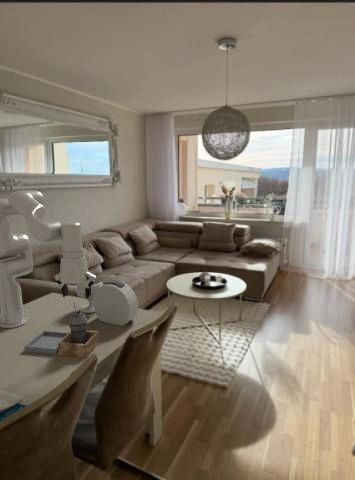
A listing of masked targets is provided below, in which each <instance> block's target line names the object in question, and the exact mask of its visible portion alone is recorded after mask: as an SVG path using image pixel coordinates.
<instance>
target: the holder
mask: <svg viewBox="0 0 355 480" xmlns="http://www.w3.org/2000/svg"><path fill="white" fill-rule="evenodd" d="M68 332H69V333H68V334H67V335H66V336H65V337H64V338H63V339H62V340H61V341H59V342H58V355H59V356H68V357H80V358H88V357H90V355H91V353H92V352H93V351H95V349H96V347H97V346H98V345H99V344H100V343H101V342H100V331H98V330H97V331H96V330H88V329H86V344H78V343H73V341H72V335H71V330H70V331H68Z"/></svg>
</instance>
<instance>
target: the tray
mask: <svg viewBox="0 0 355 480" xmlns="http://www.w3.org/2000/svg"><path fill="white" fill-rule="evenodd" d="M69 332H70V331H68V332H67V331H55V330H43V331H41V332H40V333H38V334H37V335H36V336H35V337H33V338H32V339H31V340H30V341H29V342H27V343H26V344H25V345H24V346H23V348H24V352H26V353H39V354H47V355H58V354H59V352H58V342H59V341H61V340H62V339H63V338H64V337H65V336H66V335H67V334H68V333H69Z"/></svg>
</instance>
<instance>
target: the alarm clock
mask: <svg viewBox="0 0 355 480" xmlns="http://www.w3.org/2000/svg"><path fill="white" fill-rule="evenodd" d="M93 306H94V310H95V312H94V313H95V315H96V316H97V319H99V320H100V321H101V322H103V321H104V323H108V322H109V324H114V325H118V326H123V327H124V326H125V325H126V324H128V323H130V322H131V321H132V320H133V319H134V318H135V317H136V315H137V313H138V310H139V302H138V297H137V295H136V292H135V291H134V290H133V288H132V287H131V286H130V285H128V284H127V283H126V282H123V281H119V280H116V279H114V280H108V281H105V282H104V283H103V286H101V287H100V288H99V289H97V291H96V292H95V294H94V298H93Z"/></svg>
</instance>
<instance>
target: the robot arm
mask: <svg viewBox="0 0 355 480" xmlns="http://www.w3.org/2000/svg"><path fill="white" fill-rule="evenodd" d="M43 195H44V194H43V193H41V192H40V191H39V190H34V189H29V190H15V191H13V192H11V193H10V194H9V195H8V196H7V198H0V257H1V258H2V257H9V256H14V255H17V256H14V257H9V258H4V259H0V328H1V327H2V328H1V329H13V328H17V327H21V326H23V325H25V324H26V323H27V322H28V317H27V316H26V315H25V314H24V306H23V305H24V304H23V297H22V296H23V295H22V287H21V284H20V283H19V282H18V281H17V280H16V279H17V278H18V277H23V276H26V275H29V274H30V273H32V271H34V270H33V269H34V259H33V258H34V257H33V249H32V244H31V240H30V238H29V236H28V235H27V234H25V233H21V232H20V233H14V231H13V226H12V223H11V222H10V221H9V220H8V218H15V217H23V218H24V219H25V225H26V229H27V231H28V232H29V235H31V236H32V237H33V238H35V239H36V240H38V241H39V242H41V243H51V242H55V241H61V247H62V249H61V250H60V252H59V254H60V256H61V255H62V257H61V259H60V267H59V268H60V269H59V270H60V271H59V273H57V274H56V275H55V274H54V276H53V277H54V279H55V280H56V283H57V284H58V285H59V287H60V288H61V294H62V298H65V297H67V296H69V287H68V285H77V284H84V285H85V287H86V288H85V296H86V298H88V297H90V296H91V286H92V285H93V284H94V283H95V280H96V279H98V278H97V276H96V275H95V274H93V273H91V272H89V267H88V266H89V265H88V262H87V258H86V256H84V246H83V234H82V233H83V232H82V231H83V230H82V225H81V223H79V222H77V221H69V220H63V219H62V220H53V221H47V222H42V220H43V219H44V217H45V215H46V207H45V206H44V205H45V198H44V196H43ZM89 279H91V282H90V281H89Z"/></svg>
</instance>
